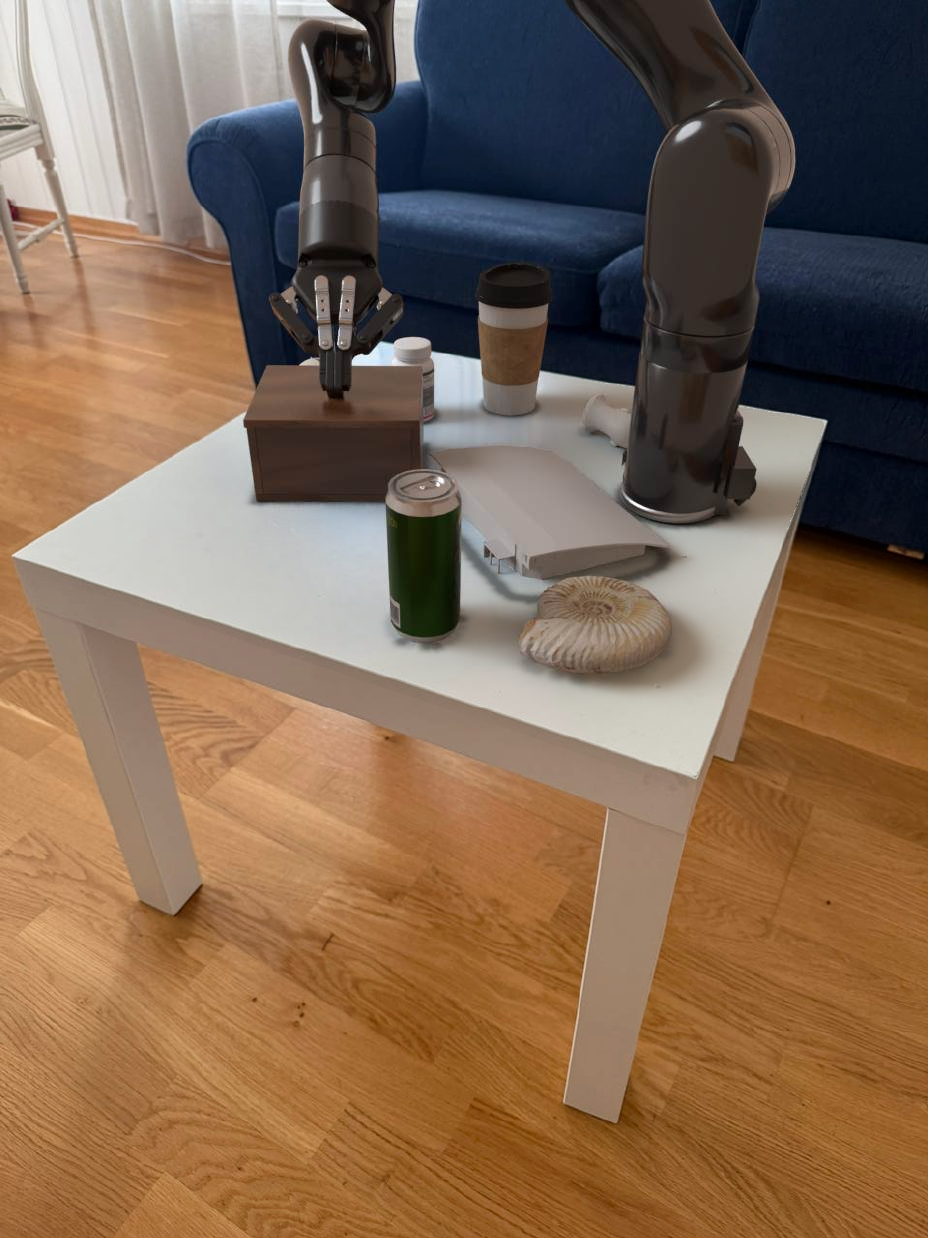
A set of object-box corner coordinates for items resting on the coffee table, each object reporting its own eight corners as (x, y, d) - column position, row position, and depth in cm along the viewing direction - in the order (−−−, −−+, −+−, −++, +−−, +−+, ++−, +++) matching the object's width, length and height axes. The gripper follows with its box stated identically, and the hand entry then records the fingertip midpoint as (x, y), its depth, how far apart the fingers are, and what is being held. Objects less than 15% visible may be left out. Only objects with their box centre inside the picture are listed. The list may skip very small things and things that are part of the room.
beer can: (413, 654, 67) (409, 511, 60) (377, 618, 71) (370, 479, 64) (473, 630, 69) (476, 490, 62) (436, 597, 73) (435, 461, 66)
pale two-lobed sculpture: (650, 458, 97) (616, 455, 94) (604, 430, 102) (570, 426, 99) (666, 420, 95) (632, 415, 92) (617, 393, 100) (584, 388, 97)
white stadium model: (515, 610, 72) (518, 569, 70) (409, 487, 89) (408, 450, 87) (675, 570, 78) (682, 530, 75) (545, 461, 95) (548, 425, 92)
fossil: (657, 680, 61) (525, 611, 62) (627, 727, 64) (502, 661, 65) (692, 586, 70) (576, 528, 71) (664, 631, 73) (553, 575, 74)
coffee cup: (558, 401, 106) (568, 268, 97) (523, 426, 100) (530, 287, 92) (496, 386, 110) (500, 257, 101) (459, 409, 104) (460, 274, 95)
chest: (421, 502, 86) (420, 425, 81) (256, 501, 86) (245, 424, 81) (423, 445, 96) (422, 373, 92) (276, 444, 96) (267, 373, 91)
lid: (419, 428, 81) (419, 420, 80) (243, 428, 80) (242, 419, 80) (422, 373, 92) (422, 365, 91) (267, 372, 91) (266, 364, 91)
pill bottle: (388, 409, 104) (385, 337, 99) (428, 405, 105) (427, 333, 100) (398, 426, 100) (395, 351, 95) (439, 421, 101) (439, 347, 96)
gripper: (261, 196, 82) (254, 376, 80) (407, 198, 83) (405, 377, 80) (276, 243, 90) (270, 409, 87) (410, 244, 90) (408, 410, 87)
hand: (335, 393), depth 83 cm, fingers closed
